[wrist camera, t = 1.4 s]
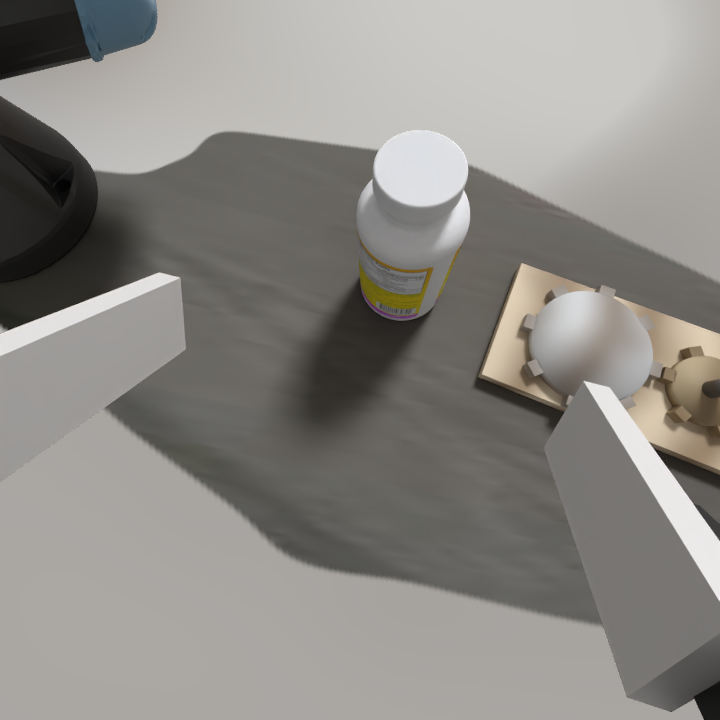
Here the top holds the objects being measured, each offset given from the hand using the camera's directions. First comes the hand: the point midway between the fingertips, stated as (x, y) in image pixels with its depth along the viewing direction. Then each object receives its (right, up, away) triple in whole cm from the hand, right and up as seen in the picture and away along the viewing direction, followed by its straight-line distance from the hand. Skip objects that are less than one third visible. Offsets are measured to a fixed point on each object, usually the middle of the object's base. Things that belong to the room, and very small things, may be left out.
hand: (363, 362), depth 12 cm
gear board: (+20, 0, +16) cm, 25 cm away
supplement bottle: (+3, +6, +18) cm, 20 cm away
